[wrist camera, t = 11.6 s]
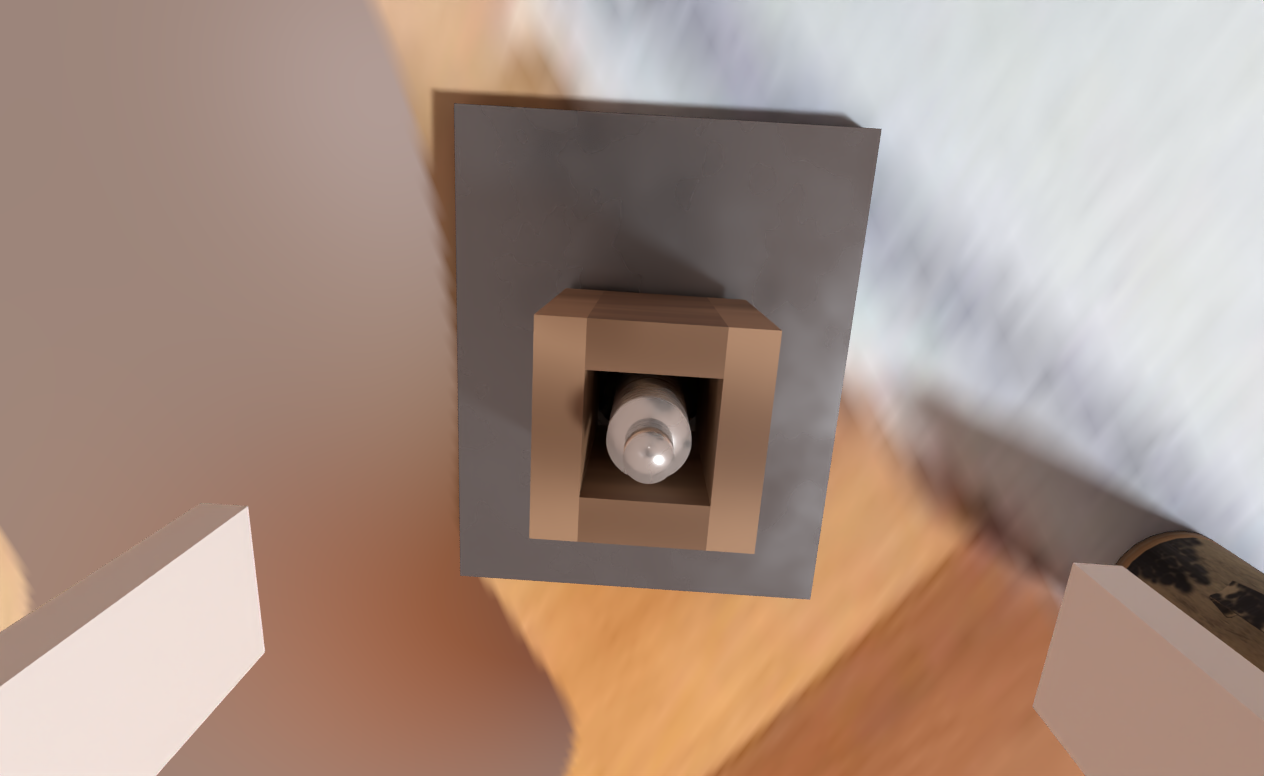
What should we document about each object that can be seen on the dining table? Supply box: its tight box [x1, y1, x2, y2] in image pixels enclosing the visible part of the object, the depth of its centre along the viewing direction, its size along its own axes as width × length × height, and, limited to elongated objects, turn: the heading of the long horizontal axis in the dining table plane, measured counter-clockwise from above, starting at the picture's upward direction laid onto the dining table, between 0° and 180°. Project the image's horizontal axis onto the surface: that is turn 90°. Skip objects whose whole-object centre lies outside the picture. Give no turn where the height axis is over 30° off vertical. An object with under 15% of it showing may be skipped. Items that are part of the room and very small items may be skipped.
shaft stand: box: [454, 103, 881, 599], centre depth 22 cm, size 20×16×11 cm
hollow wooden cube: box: [529, 288, 782, 554], centre depth 22 cm, size 7×7×7 cm
